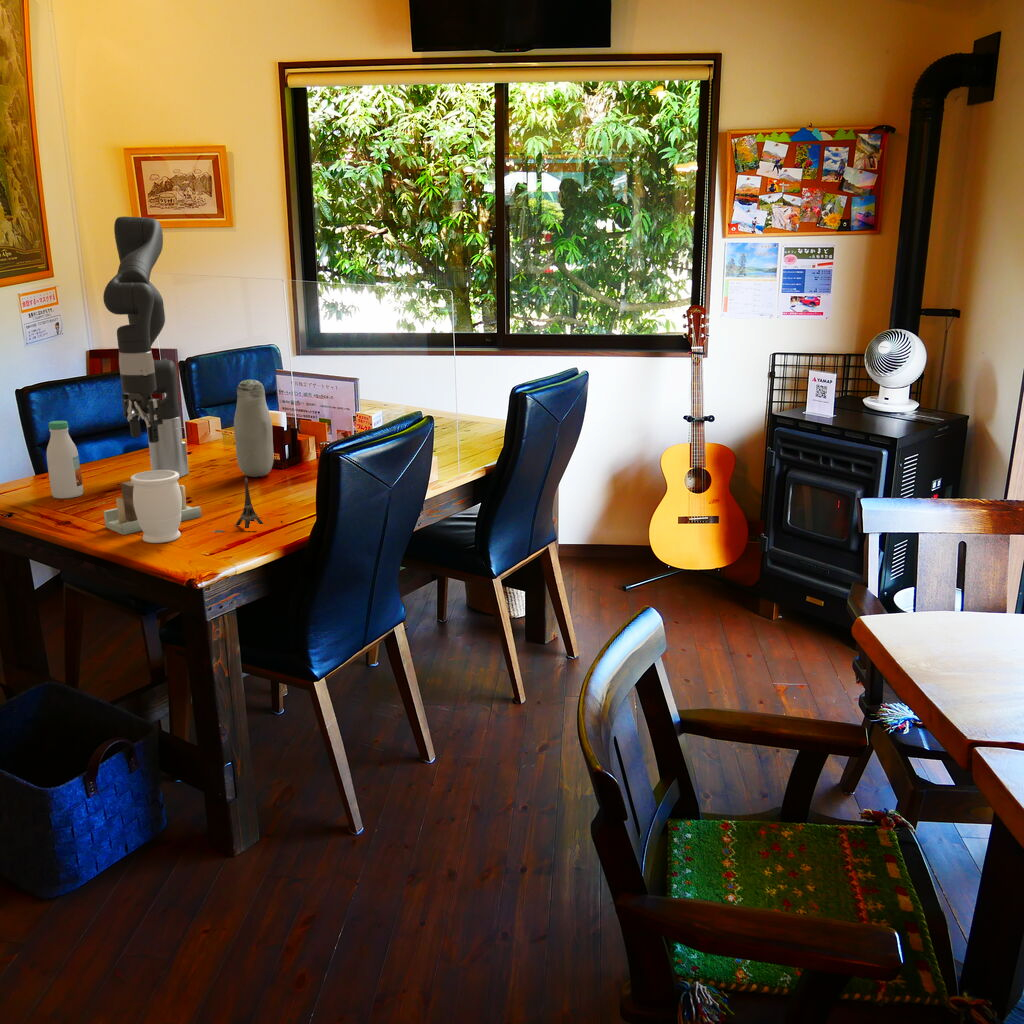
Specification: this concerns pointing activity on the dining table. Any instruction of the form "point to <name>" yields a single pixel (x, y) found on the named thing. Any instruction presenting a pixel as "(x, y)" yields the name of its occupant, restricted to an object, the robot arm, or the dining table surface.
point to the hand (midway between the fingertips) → (145, 439)
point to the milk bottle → (63, 463)
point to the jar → (158, 504)
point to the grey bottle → (253, 430)
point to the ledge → (118, 521)
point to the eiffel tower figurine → (247, 510)
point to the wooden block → (129, 500)
